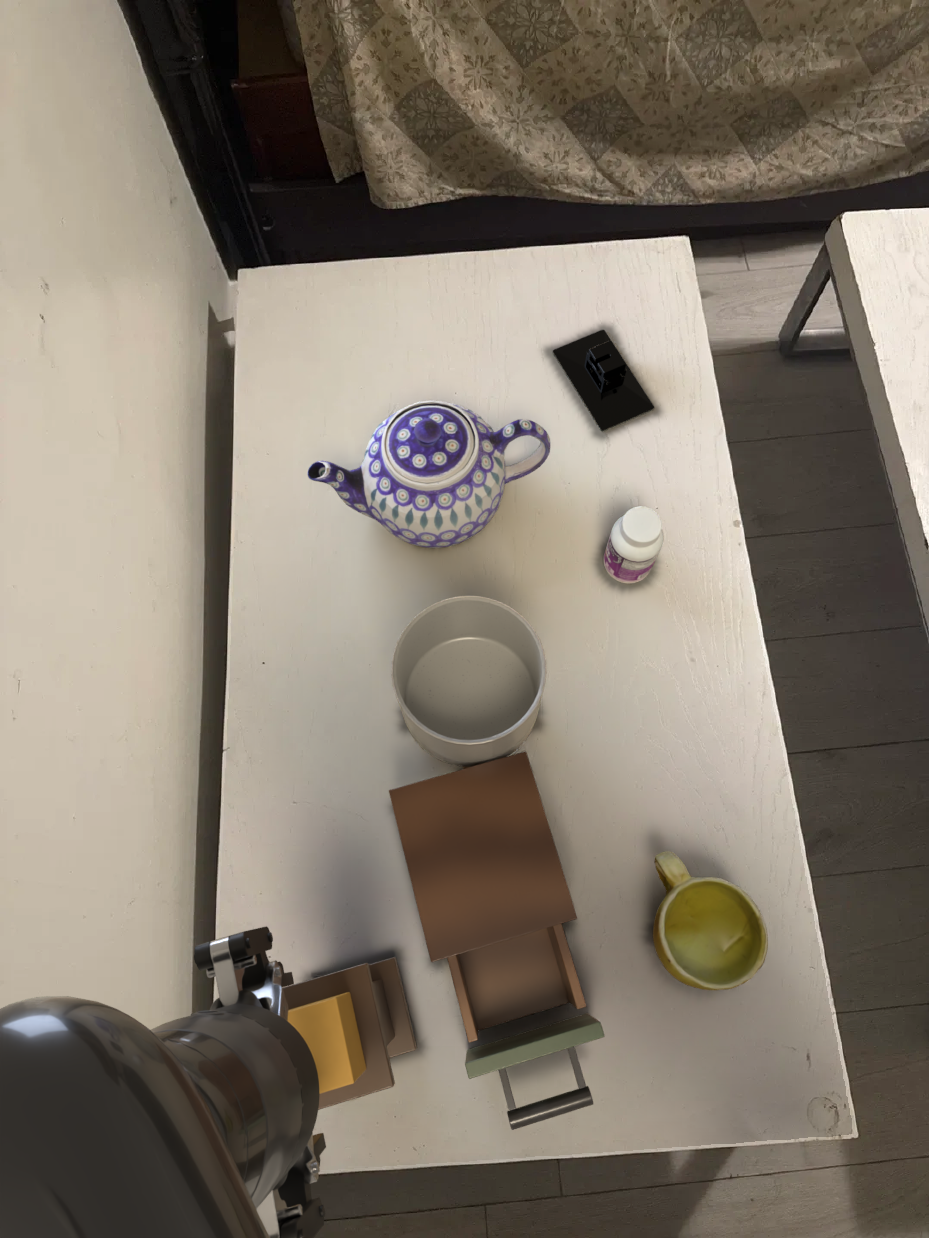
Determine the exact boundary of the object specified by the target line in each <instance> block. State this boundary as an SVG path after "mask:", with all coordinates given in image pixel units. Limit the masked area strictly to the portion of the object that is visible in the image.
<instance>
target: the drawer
mask: <svg viewBox="0 0 929 1238" xmlns="http://www.w3.org/2000/svg"><path fill="white" fill-rule="evenodd" d="M564 930H565V929H564V927H563V923H561V924H558V925H555V926H551V927H548V928H545V929H541V930H538V931H535V932H531V933H528V934H525V935H521V936H518V937H515V938H511V939H508V940H505V941H501V942H498V943H495V944H491V945H488V946H485V947H481V948H478V949H475V950H471V951H468V952H465V953H461V954H458V955H455V956H451V957H448V958H446V959H447V964H448V967H449V971H450V975H451V979H452V982H453V986H454V987H453V988H454V991H455V995H456V998H457V1002H458V1003H457V1004H458V1007H459V1010H460V1014H461V1017H462V1022H463V1026H464V1030H465V1034H466V1038H467V1042H468V1043H473V1042H475V1041H478V1040H479V1031H482V1030H486V1029H488V1028H493V1027H496V1026H498V1025H501V1024H502V1025H503V1024H505V1023H508V1022H509V1023H510V1022H512V1021H515V1020H519V1019H521V1018H525V1017H528V1016H531V1015H534V1014H538V1013H541V1012H544V1011H547V1010H550V1009H554V1008H557V1007H561V1006H564V1005H568V1004H570V1005H571V1006H572V1007H573V1008H575V1009H576V1010H580V1009H583V1008H586V1007H587V1003H586V1000H585V997H584V993H583V990H582V987H581V984H580V980H579V977H578V973H577V970H576V967H575V963H574V959H573V956H572V953H571V950H570V947H569V943H568V940H567V937H566V936H567V935H566V934H565V931H564ZM605 1036H606V1035H605V1033H604V1029H603V1026H602V1023H601V1021H600V1020H599V1019H597V1018H596V1017H594V1016H593V1015H592V1014H590V1013H589V1012H585V1013H582V1014H579V1015H576V1016H572V1017H569V1018H566V1019H563V1020H559V1021H556V1022H553V1023H550V1024H547V1025H543V1026H540V1027H537V1028H533V1029H530V1030H527V1031H524V1032H521V1033H518V1034H517V1033H516V1034H513V1035H511V1036H508V1037H504V1038H501V1039H497V1040H494V1041H492V1042H487V1043H485V1044H482V1045H479V1046H475V1047H472V1048H468V1049H467V1050H466V1055H465V1061H464V1066H465V1070H466V1074H467V1078H468V1079H469V1080H471V1079H474V1078H477V1077H481V1076H484V1075H488V1074H490V1073H494V1072H497V1071H498V1073H499V1077H500V1082H501V1085H502V1089H503V1093H504V1097H505V1101H506V1104H507V1109H508V1110H507V1111H506V1113H507V1120H508V1122H509V1126H510V1129H511V1130H512V1131H514V1130H517V1129H520V1128H523V1127H526V1126H527V1127H528V1126H530V1125H534V1124H537V1123H539V1122H542V1121H545V1120H549V1119H551V1118H555V1117H558V1116H562V1115H564V1114H565V1115H566V1114H568V1113H572V1112H574V1111H578V1110H581V1109H584V1108H586V1107H590V1106H593V1105H594V1099H593V1095H592V1093H591V1089H590V1087H589V1086H588V1085H587V1084H586V1081H585V1078H584V1075H583V1070H582V1067H581V1064H580V1061H579V1057H578V1054H577V1051H576V1047H577V1046H581V1045H583V1044H586V1043H590V1042H593V1041H597V1040H600V1039H602V1038H605ZM564 1050H567V1053H568V1056H569V1060H570V1064H571V1066H572V1070H573V1073H574V1077H575V1081H576V1085H577V1088H576V1089H573V1090H570V1091H567V1092H563V1093H560V1094H557V1095H553V1096H551V1097H547V1098H544V1099H542V1100H538V1101H535V1102H531V1103H528V1104H525V1105H522V1106H519V1107H516V1102H515V1099H514V1094H513V1092H512V1087H511V1083H510V1080H509V1076H508V1073H507V1068H509V1067H512V1066H515V1065H519V1064H522V1063H526V1062H529V1061H532V1060H535V1059H538V1058H541V1057H542V1058H543V1057H545V1056H548V1055H551V1054H555V1053H558V1052H561V1051H564Z"/></svg>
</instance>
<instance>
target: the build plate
mask: <svg viewBox="0 0 929 1238" xmlns="http://www.w3.org/2000/svg"><path fill="white" fill-rule="evenodd" d="M552 355H553V357H554V358H555V359H556V361H557V363H558V364H559V366H560V367H561V369H562V371H563V373H564V375H565V376H566V378H567V379H568V380H569V382H570V384H571V385H572V388H573V389H574V391H575V392H576V393H577V395H578V397H579V399H580V400H581V402H582V404H583V405H584V406H585V408H586V410H587V411H588V413H589V415H590V416H591V418H592V419H593V422H594V423H595V424H596V426H597V427H598V429H599V431H600V432H602V433H603V432H606V431H608V430H611V429H612V428H615V427H618V426H620V425H622V424H625V423H627V422H629V421H631V420H634V419H636V418H638V417H640V416H643V415H646V414H648V413H650V412H652V411H654V409H655V405H654V403H653V402H652V401H651V399H650V398H649V396H648V395H647V393H646V392H645V389H643V387H642V386H641V384H640V382H639V381H638V379H637V378H636V376H635V375H634V372H633V371H632V370H631V368H630V367H629V365H628V364H627V362H626V360H625V359H624V357H623V356H622V353H620V351H619V350H618V348H617V346H616V345H615V342H614V340H613V339H612V337H611V336H610V334H609V333H608V332H606V330H605V329H600V330H598V331H596V332H593V333H590V334H589V335H586V336H583V337H581V338H578V339H576V340H573V341H571V342H569V343H567V344H564V345H561V346H560V347H557V348H554V349H553V350H552Z"/></svg>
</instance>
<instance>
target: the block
mask: <svg viewBox="0 0 929 1238" xmlns="http://www.w3.org/2000/svg"><path fill="white" fill-rule="evenodd" d="M288 1022H289V1023H290V1024H291V1025H292V1026H293V1027H294V1028H295V1029H296V1030H297V1031H298V1032H299V1033H300V1035H301V1036H302V1037H303V1039H304V1040H305V1042H306V1043H307V1045H308V1047H309V1049H310V1051H311V1053H312V1056H313V1058H314V1061H315V1064H316V1068H317V1072H318V1079H319V1094H321V1093H324V1092H327V1091H330V1090H334V1089H337V1088H340V1087H343V1086H347V1085H350V1084H353V1083H354V1082H355V1081H356V1080H357V1079H358V1078H359V1077H360V1076H361V1074H362V1073H363V1072H364V1071H365V1070H366V1064H365V1060H364V1055H363V1051H362V1046H361V1041H360V1037H359V1032H358V1027H357V1023H356V1018H355V1013H354V1009H353V1004H352V999H351V995H350V992H347V993H344V994H340V995H337V996H334V997H330V998H327V999H324V1000H320V1001H317V1002H314V1003H310V1004H307V1005H304V1006H300V1007H297V1008H294V1009H290V1010H288Z"/></svg>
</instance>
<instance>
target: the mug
mask: <svg viewBox="0 0 929 1238" xmlns="http://www.w3.org/2000/svg"><path fill="white" fill-rule="evenodd" d="M654 865H655V869H656V872H657V876H658V878H659V880H660V882H661V883H662V885H663V887H664V890H665V897H664V898H663V899H662V900H661V902H660V904H659V906H658V908H657V910H656V913H655V917H654V921H653V930H652V941H653V946H654V950H655V953H656V956H657V958H658V959H659V961H660V963H661V964H662V966H663V967H664V969H665V970H666V971H667V972H668V974H670V975H671V976H672V977H673V978H674V979H676V980H677V981H678V982H680V983H681V984H684V985H686V986H688V987H692V988H694V989H699V990H703V991H721V990H722V991H724V990H726V991H727V990H732V989H735V988H737V987H739V986H741V985H744V984H745V983H747V982H748V981H750V980H751V979H752V978H753V977H754V976H755V975H756V974H757V973H758V972H759V970H760V969H761V968H762V967H763V965H764V964H765V961H766V957H767V954H768V949H769V937H768V930H767V929H768V928H767V925H766V921H765V919H764V917H763V914H762V912H761V910H760V908H759V907H758V905H757V904H756V903H755V901H754V900H753V898H752V897H751V896H750V895H749V894H748V893H747V892H746V891H745V890H743V888H741V887H740V886H738V885H736V884H735V883H733V882H731V881H729V880H726V879H723V878H721V877H714V876H705V877H703V876H702V877H694V876H691V874H690V873H689V871H688V869H687V867H686V865H685V863H684V862H683V861H682V859H681V858H680V857H679V856H677V854H676V853H674V852H673V851H671V850H670V851H668V850H667V851H662V852H660V853H658V854H656V855H655V856H654Z"/></svg>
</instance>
